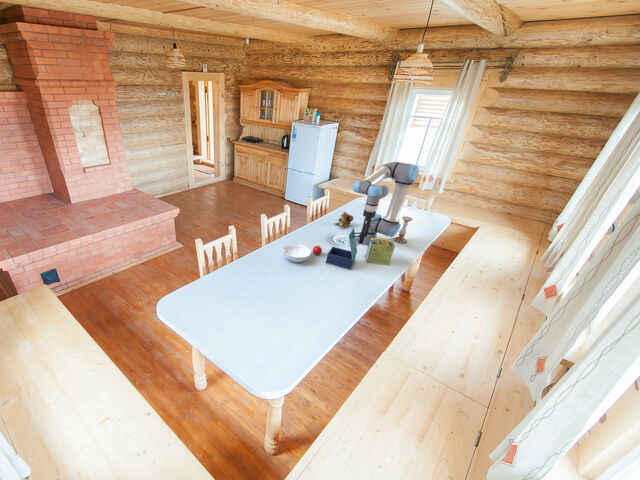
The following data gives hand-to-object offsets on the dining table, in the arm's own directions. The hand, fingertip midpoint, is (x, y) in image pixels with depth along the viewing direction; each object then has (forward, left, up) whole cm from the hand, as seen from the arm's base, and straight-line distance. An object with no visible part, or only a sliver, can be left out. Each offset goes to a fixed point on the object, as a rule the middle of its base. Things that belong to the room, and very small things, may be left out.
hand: (362, 239), depth 215 cm
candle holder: (-63, +23, -22) cm, 70 cm away
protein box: (-18, +12, -22) cm, 31 cm away
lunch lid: (0, -6, -5) cm, 8 cm away
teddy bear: (-68, -25, -22) cm, 76 cm away
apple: (-2, -30, -18) cm, 35 cm away
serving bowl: (+12, -41, -22) cm, 48 cm away
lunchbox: (0, -11, -22) cm, 24 cm away
